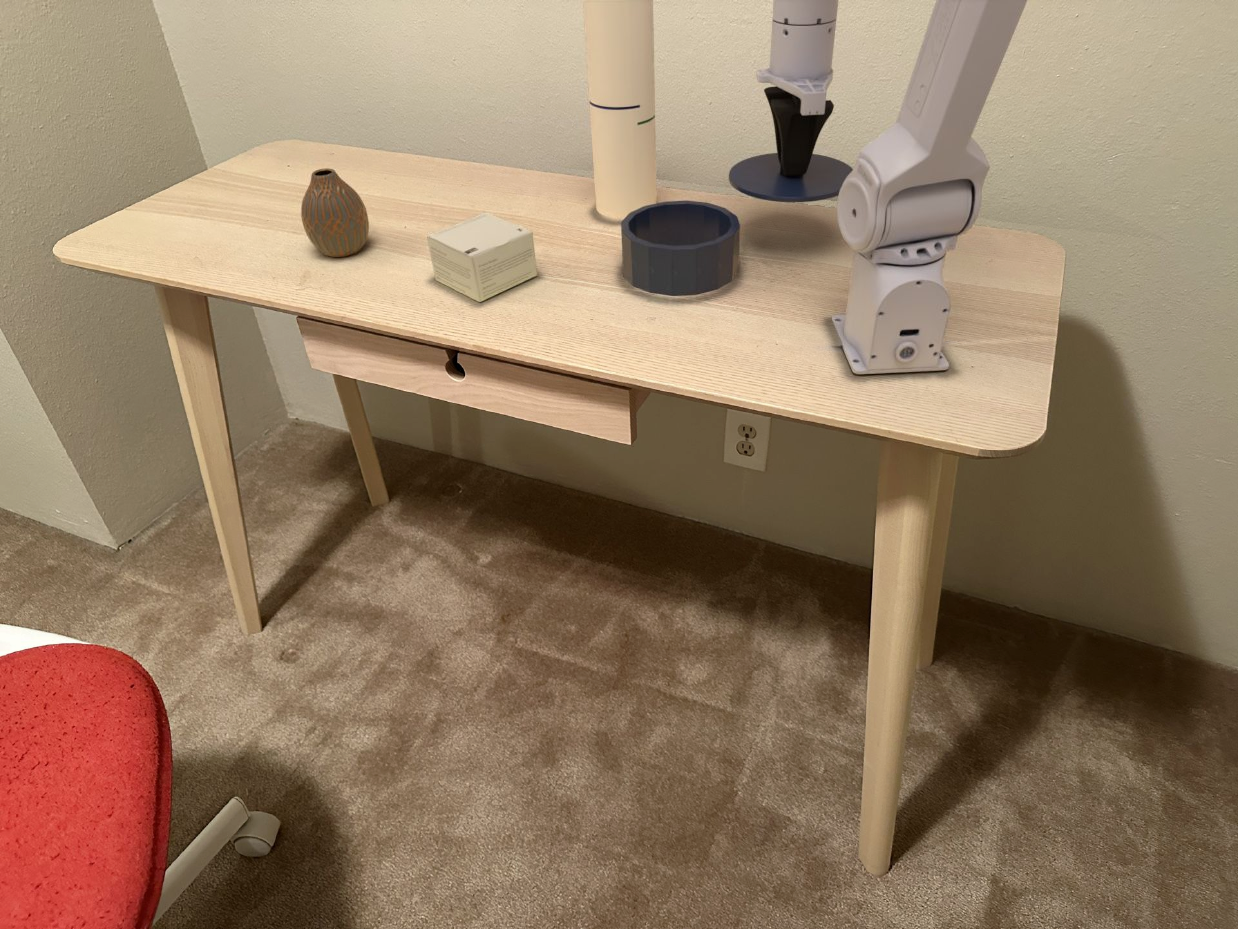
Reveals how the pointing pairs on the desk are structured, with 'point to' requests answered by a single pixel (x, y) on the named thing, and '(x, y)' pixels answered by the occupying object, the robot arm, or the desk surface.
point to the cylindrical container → (621, 103)
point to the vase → (334, 215)
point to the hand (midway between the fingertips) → (792, 168)
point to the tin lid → (789, 179)
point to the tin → (680, 247)
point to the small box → (482, 256)
